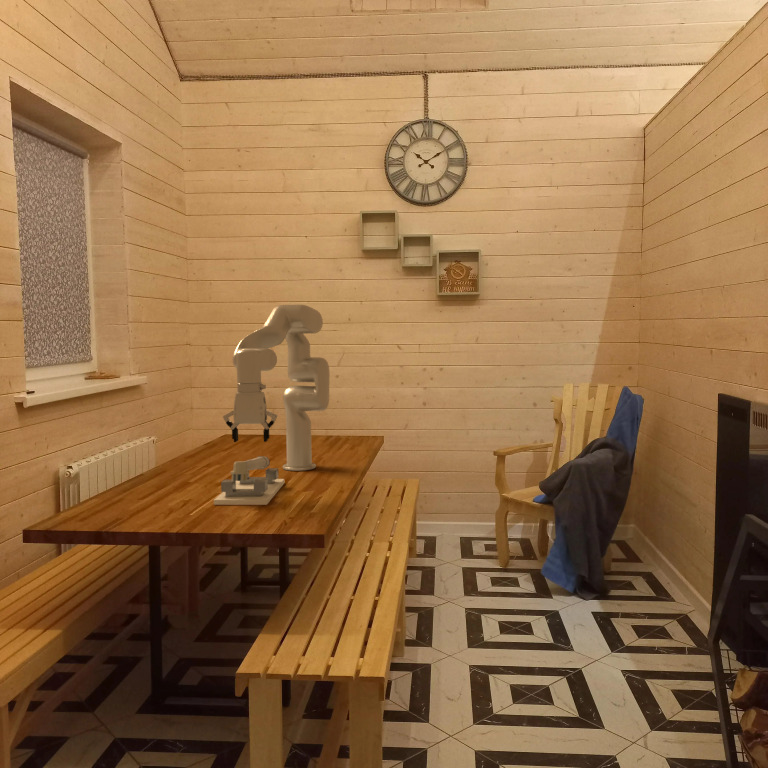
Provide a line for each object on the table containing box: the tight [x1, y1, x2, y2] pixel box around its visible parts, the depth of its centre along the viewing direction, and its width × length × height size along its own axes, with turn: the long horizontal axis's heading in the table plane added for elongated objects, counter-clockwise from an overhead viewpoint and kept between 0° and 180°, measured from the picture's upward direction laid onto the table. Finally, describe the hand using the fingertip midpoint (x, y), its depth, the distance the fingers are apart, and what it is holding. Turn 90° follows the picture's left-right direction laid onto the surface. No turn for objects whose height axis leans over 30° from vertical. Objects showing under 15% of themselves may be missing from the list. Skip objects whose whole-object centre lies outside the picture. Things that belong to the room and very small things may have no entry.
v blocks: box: [220, 467, 279, 497], centre depth 220 cm, size 22×14×4 cm, turn 178°
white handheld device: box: [230, 455, 271, 481], centre depth 219 cm, size 5×7×25 cm
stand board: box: [213, 478, 285, 506], centre depth 220 cm, size 30×16×2 cm, turn 178°
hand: (250, 441), depth 219 cm, fingers open, 9 cm apart
